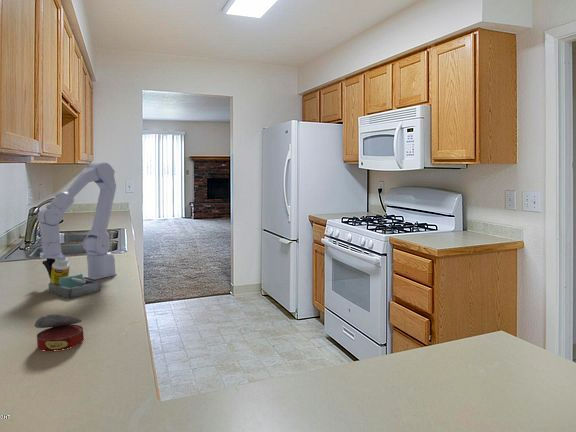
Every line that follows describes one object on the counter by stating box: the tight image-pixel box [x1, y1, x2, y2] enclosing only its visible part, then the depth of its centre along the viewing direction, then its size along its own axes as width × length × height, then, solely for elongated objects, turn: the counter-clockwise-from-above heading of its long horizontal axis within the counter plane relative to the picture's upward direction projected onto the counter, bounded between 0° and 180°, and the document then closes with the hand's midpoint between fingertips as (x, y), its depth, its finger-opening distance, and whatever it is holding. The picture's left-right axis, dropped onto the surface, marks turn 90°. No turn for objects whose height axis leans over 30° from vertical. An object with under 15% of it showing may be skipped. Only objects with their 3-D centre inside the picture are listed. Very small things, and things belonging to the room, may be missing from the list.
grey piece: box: [48, 277, 101, 299], centre depth 151 cm, size 11×14×3 cm
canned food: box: [34, 314, 85, 351], centre depth 105 cm, size 11×10×10 cm
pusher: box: [59, 273, 86, 288], centre depth 150 cm, size 8×9×5 cm
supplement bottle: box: [49, 257, 71, 285], centre depth 156 cm, size 6×6×10 cm
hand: (54, 279), depth 159 cm, fingers closed
